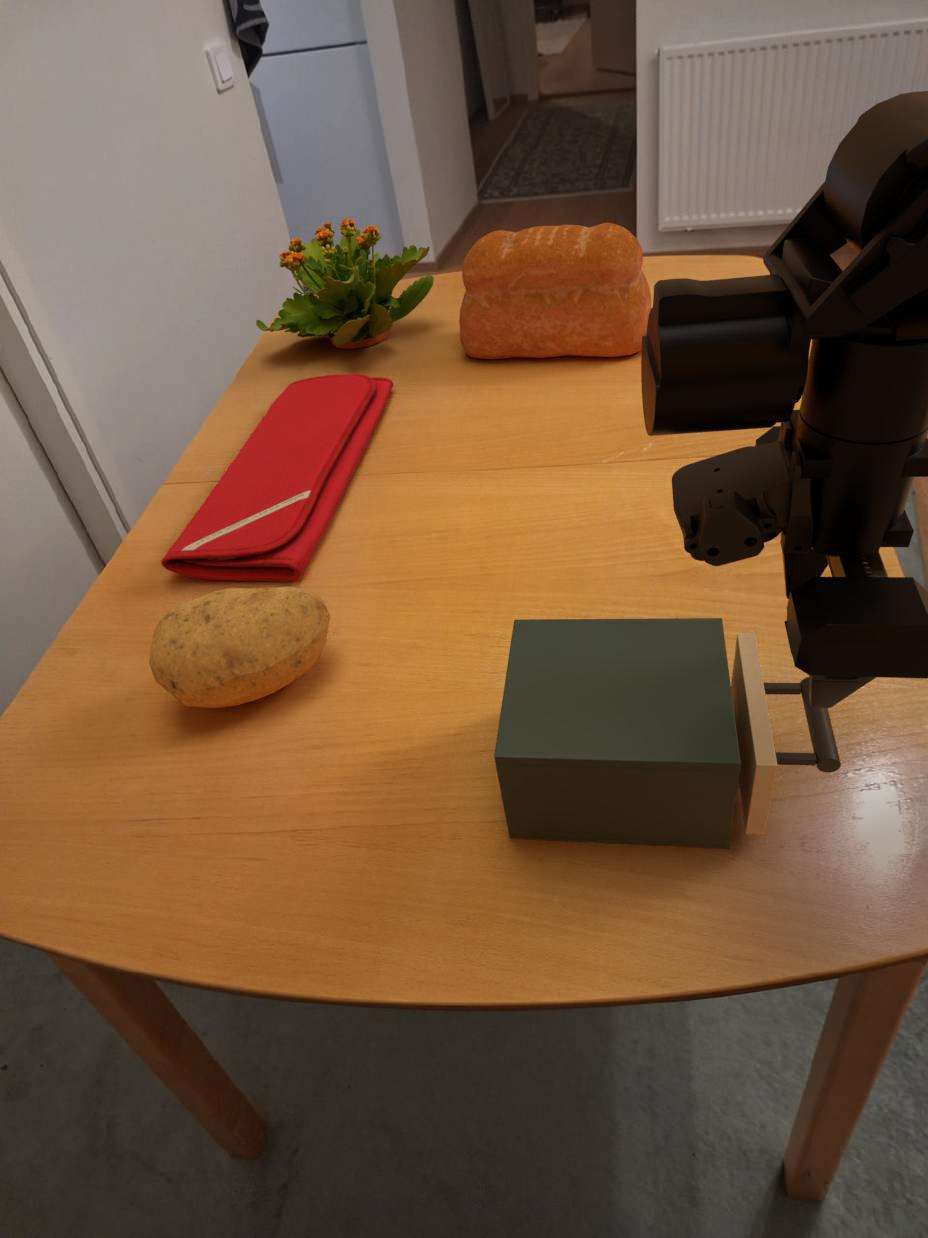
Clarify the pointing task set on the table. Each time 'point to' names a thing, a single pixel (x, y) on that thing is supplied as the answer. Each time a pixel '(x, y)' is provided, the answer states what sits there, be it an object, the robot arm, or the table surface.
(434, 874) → the table surface
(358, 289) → the potted flower
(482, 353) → the bread
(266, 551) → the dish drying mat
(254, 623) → the potato
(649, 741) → the cabinet
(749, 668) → the drawer
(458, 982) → the table surface
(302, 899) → the table surface
